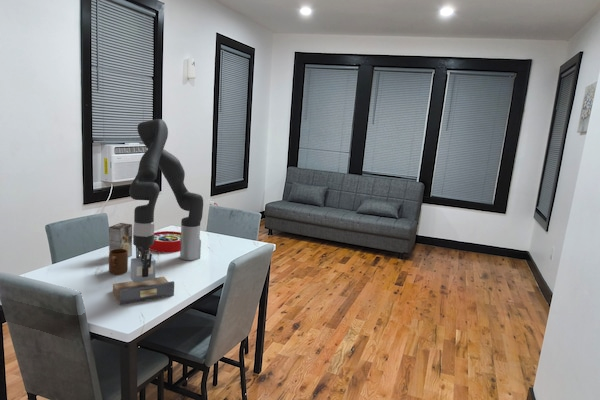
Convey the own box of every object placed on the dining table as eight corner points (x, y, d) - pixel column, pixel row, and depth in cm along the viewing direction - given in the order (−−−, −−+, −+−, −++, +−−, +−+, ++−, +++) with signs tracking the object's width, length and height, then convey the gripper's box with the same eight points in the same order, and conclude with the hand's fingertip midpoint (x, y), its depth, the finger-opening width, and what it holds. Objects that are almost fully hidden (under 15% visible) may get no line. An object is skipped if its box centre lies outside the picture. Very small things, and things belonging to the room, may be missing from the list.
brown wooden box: (163, 283, 170) (163, 270, 169) (174, 295, 159) (174, 282, 158) (112, 291, 159) (112, 278, 158) (120, 305, 148) (120, 291, 147)
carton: (130, 277, 159) (130, 258, 157) (151, 274, 163) (151, 256, 162) (133, 282, 154) (134, 263, 153) (155, 279, 159) (155, 260, 157)
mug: (119, 279, 170) (120, 258, 168) (101, 278, 170) (101, 257, 168) (130, 269, 182) (130, 249, 180) (113, 267, 181) (113, 248, 180)
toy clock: (182, 230, 230) (192, 240, 213) (181, 240, 231) (191, 251, 214) (145, 232, 219) (152, 243, 202) (145, 242, 220) (152, 254, 204)
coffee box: (120, 253, 200) (120, 222, 197) (132, 255, 199) (132, 224, 196) (108, 259, 191) (108, 226, 188) (120, 261, 190) (120, 228, 187)
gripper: (129, 228, 159) (128, 269, 162) (138, 238, 147) (137, 282, 150) (148, 227, 163) (147, 266, 166) (159, 237, 152) (158, 279, 155)
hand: (143, 273), depth 158 cm, fingers closed on carton, 5 cm apart
